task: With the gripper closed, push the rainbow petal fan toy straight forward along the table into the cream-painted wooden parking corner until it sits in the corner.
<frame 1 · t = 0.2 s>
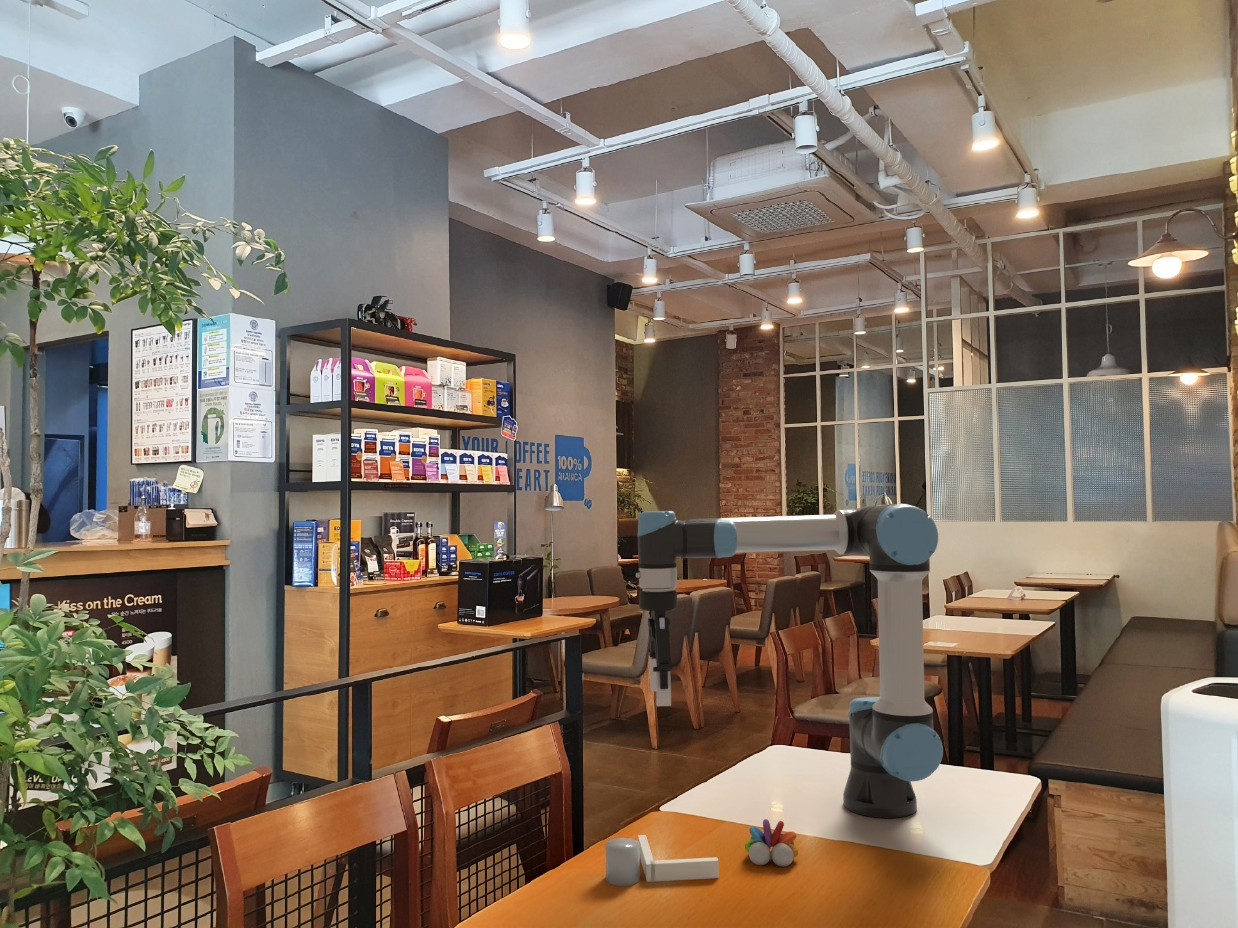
hand: (660, 698, 180), 28 cm above the table, fingers open, 13 cm apart
parking corner: (680, 863, 167), on the table
rainbow petal fan toy: (771, 860, 169), on the table
short grey cylinder: (622, 878, 161), on the table
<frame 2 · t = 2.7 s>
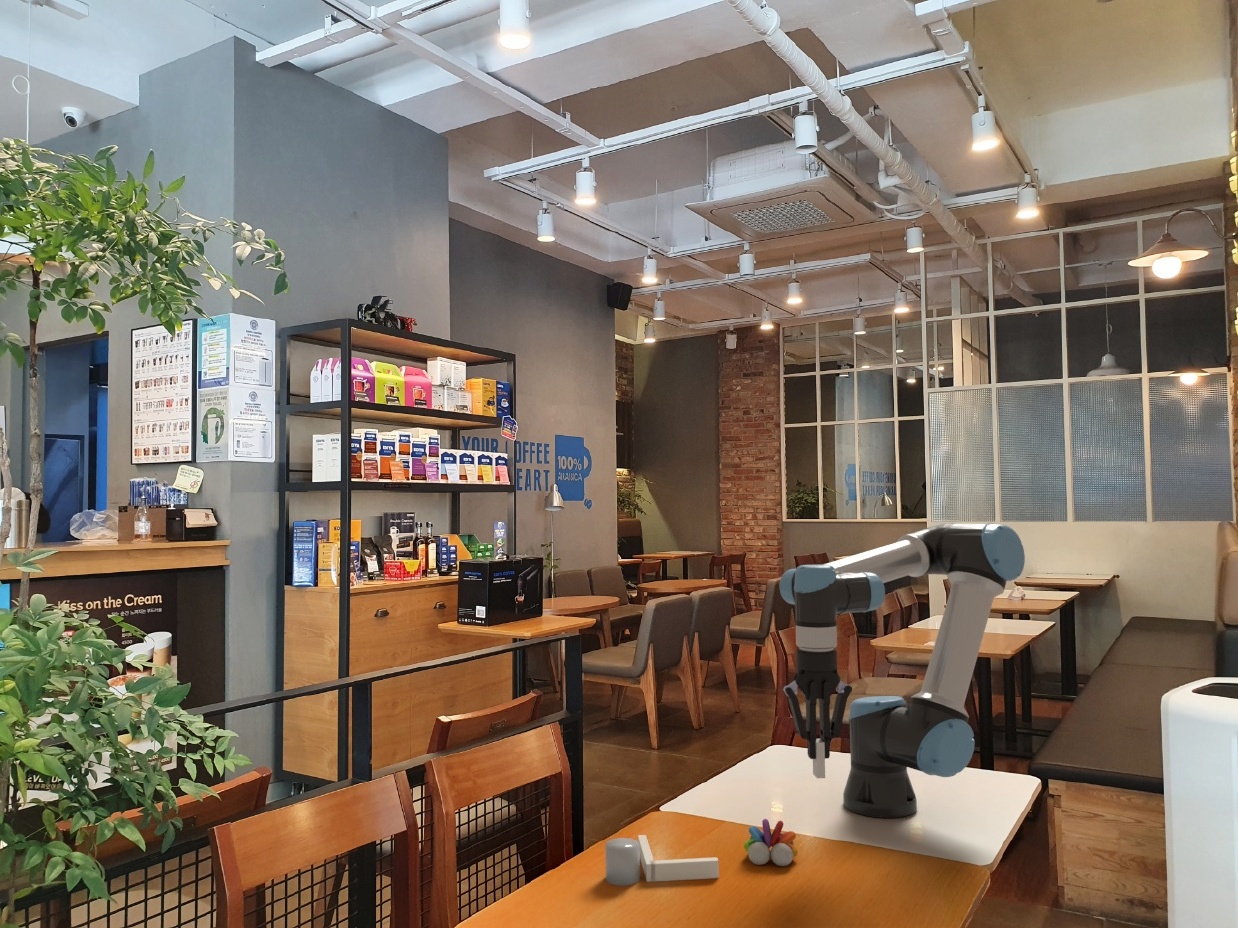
hand: (819, 775, 170), 15 cm above the table, fingers closed
nothing on the table moved.
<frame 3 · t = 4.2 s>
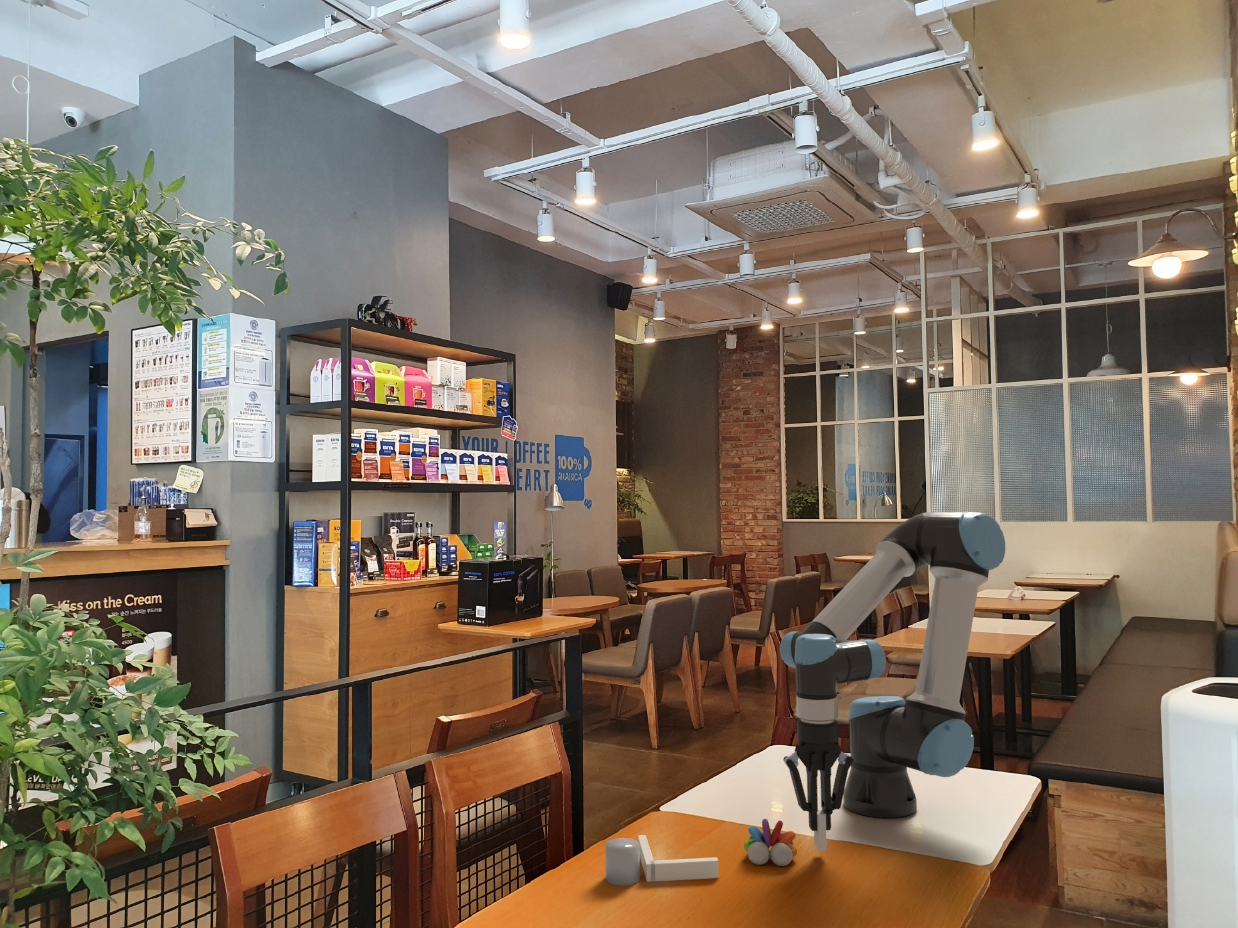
hand: (820, 847, 169), 2 cm above the table, fingers closed
nothing on the table moved.
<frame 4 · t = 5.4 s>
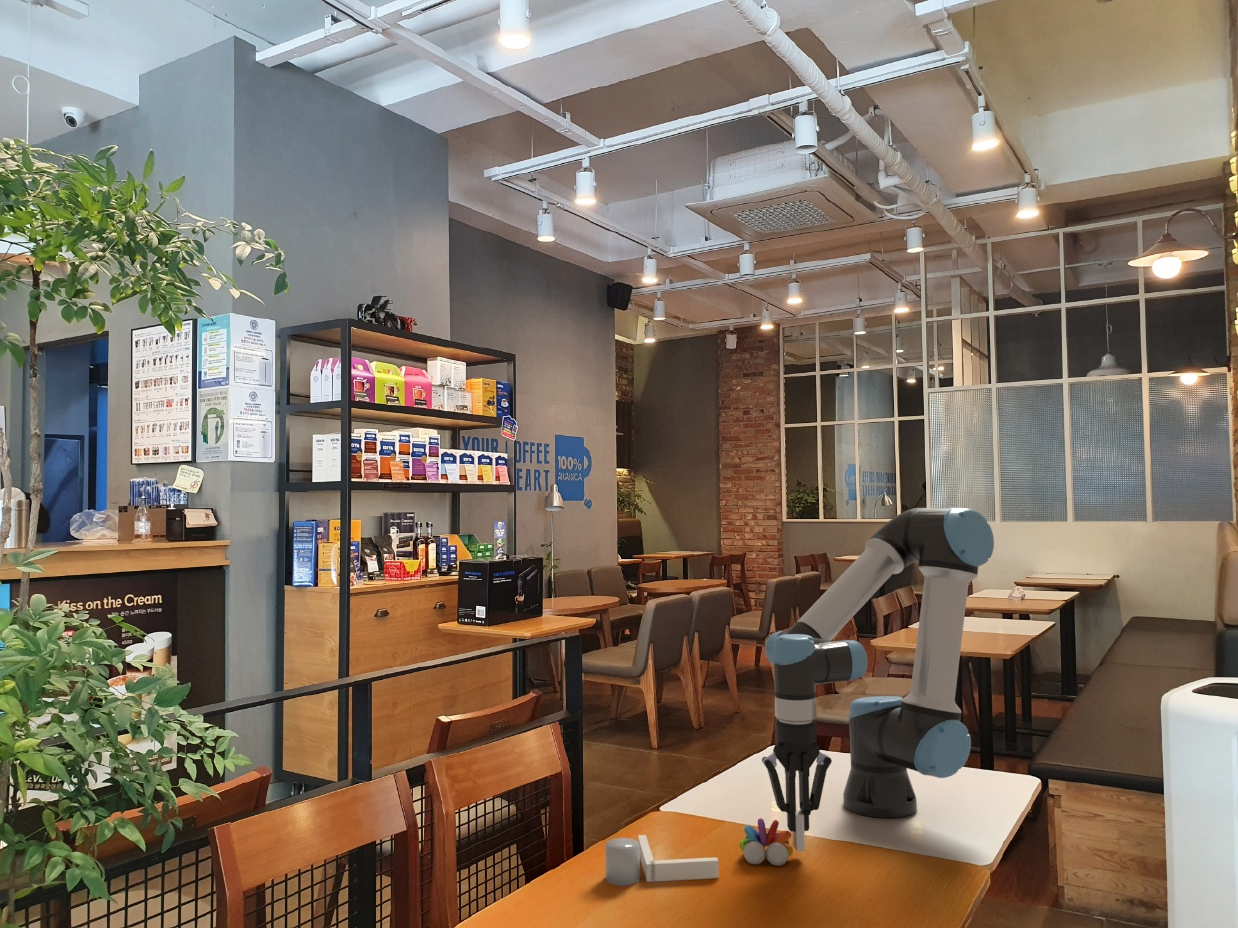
hand: (798, 848, 169), 2 cm above the table, fingers closed
rainbow petal fan toy: (766, 860, 169), on the table, touching gripper
everything else where it was.
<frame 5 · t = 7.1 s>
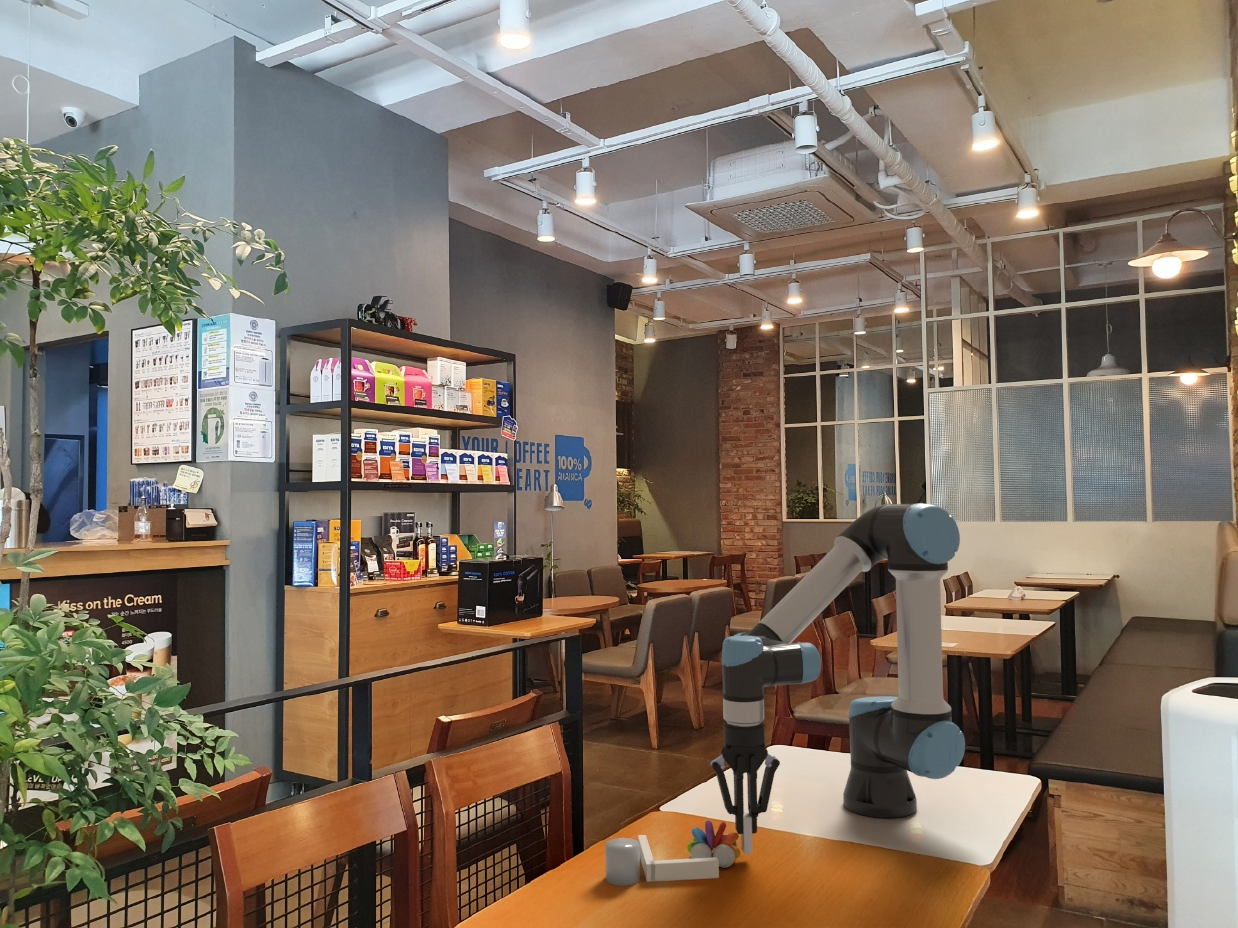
hand: (746, 850, 168), 2 cm above the table, fingers closed
rainbow petal fan toy: (713, 862, 168), on the table, touching gripper
everything else where it was.
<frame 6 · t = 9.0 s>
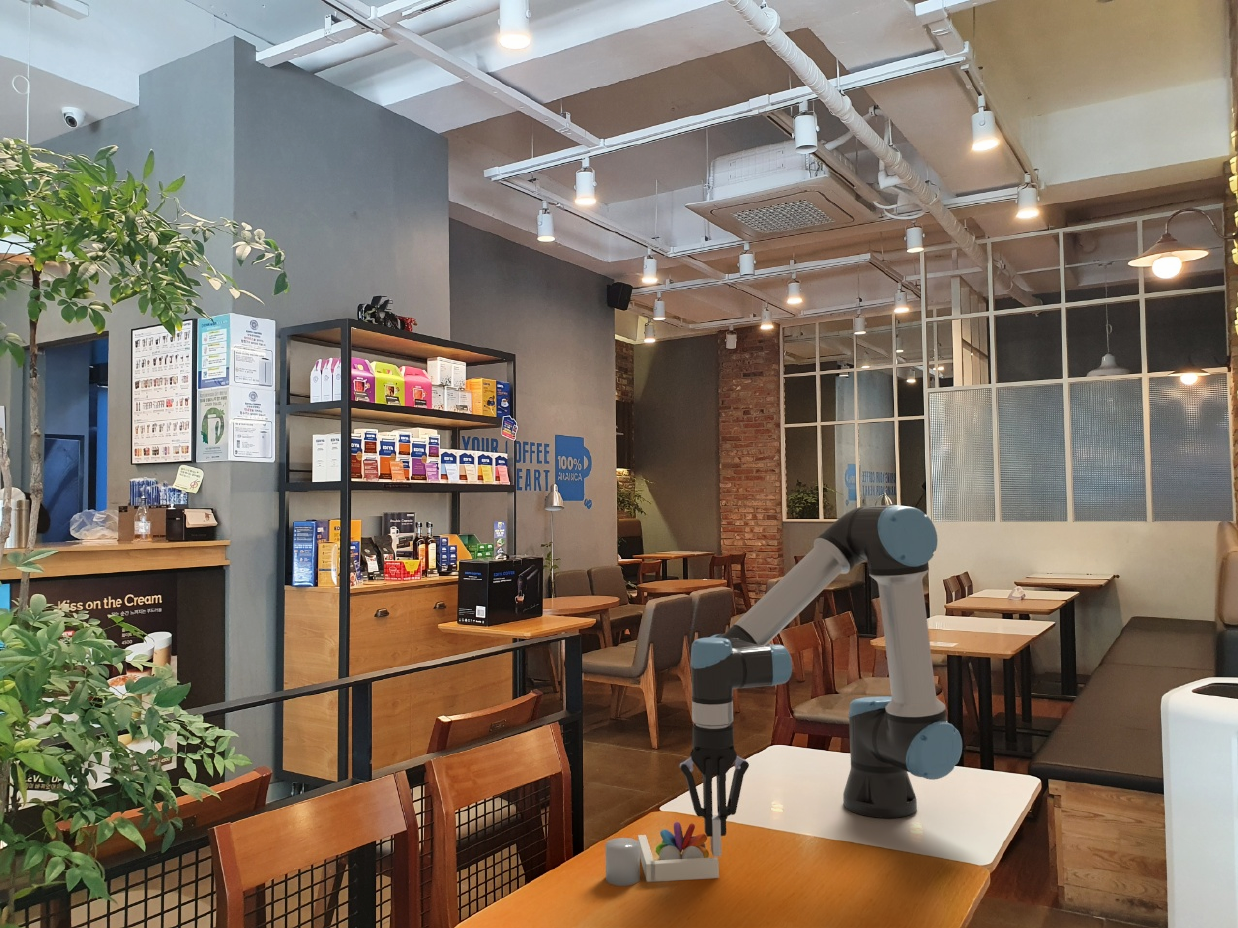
hand: (716, 853, 168), 2 cm above the table, fingers closed
rainbow petal fan toy: (682, 863, 168), on the table, touching gripper
everything else where it was.
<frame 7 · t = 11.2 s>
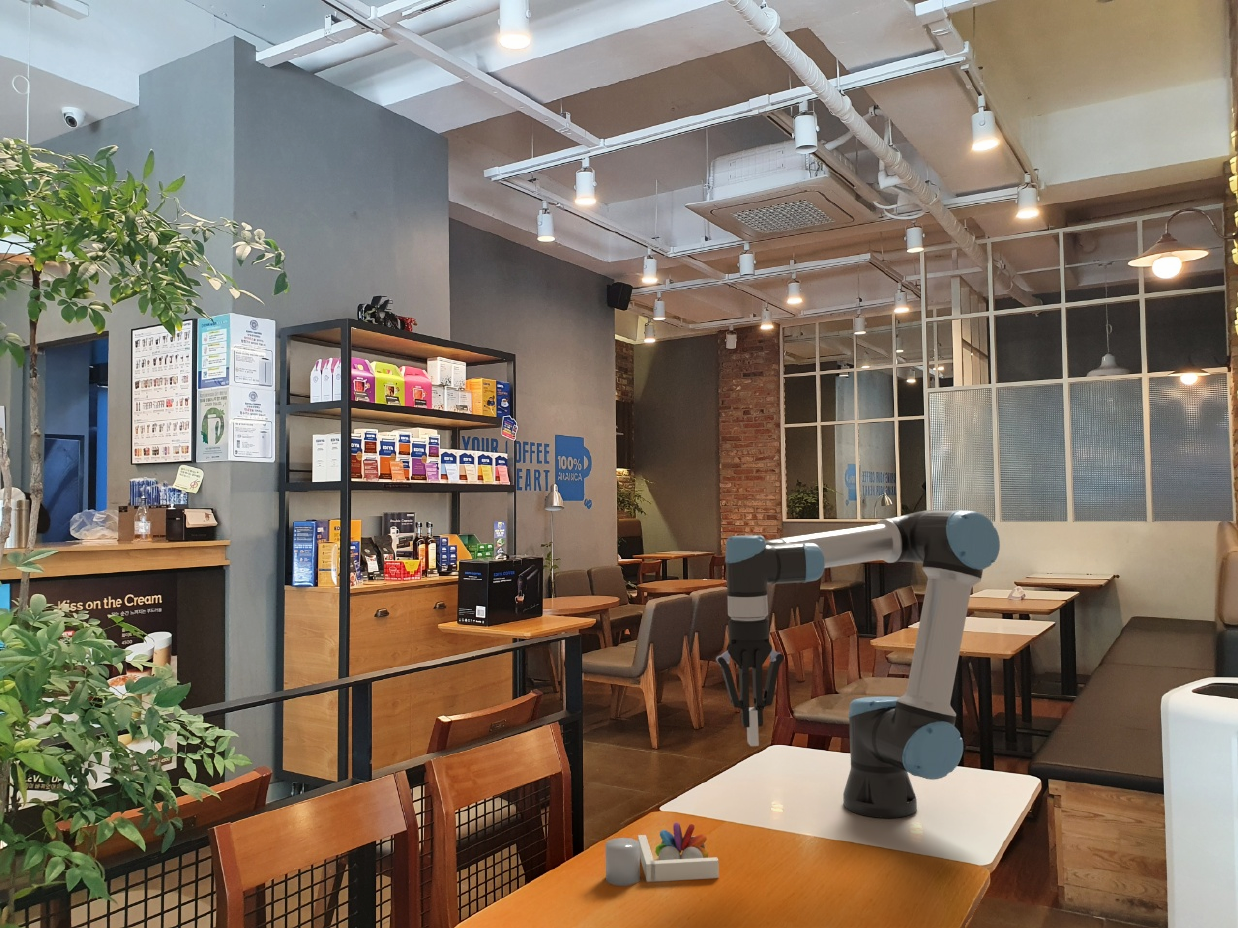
hand: (753, 743, 172), 20 cm above the table, fingers closed
rainbow petal fan toy: (682, 864, 168), on the table
everything else where it was.
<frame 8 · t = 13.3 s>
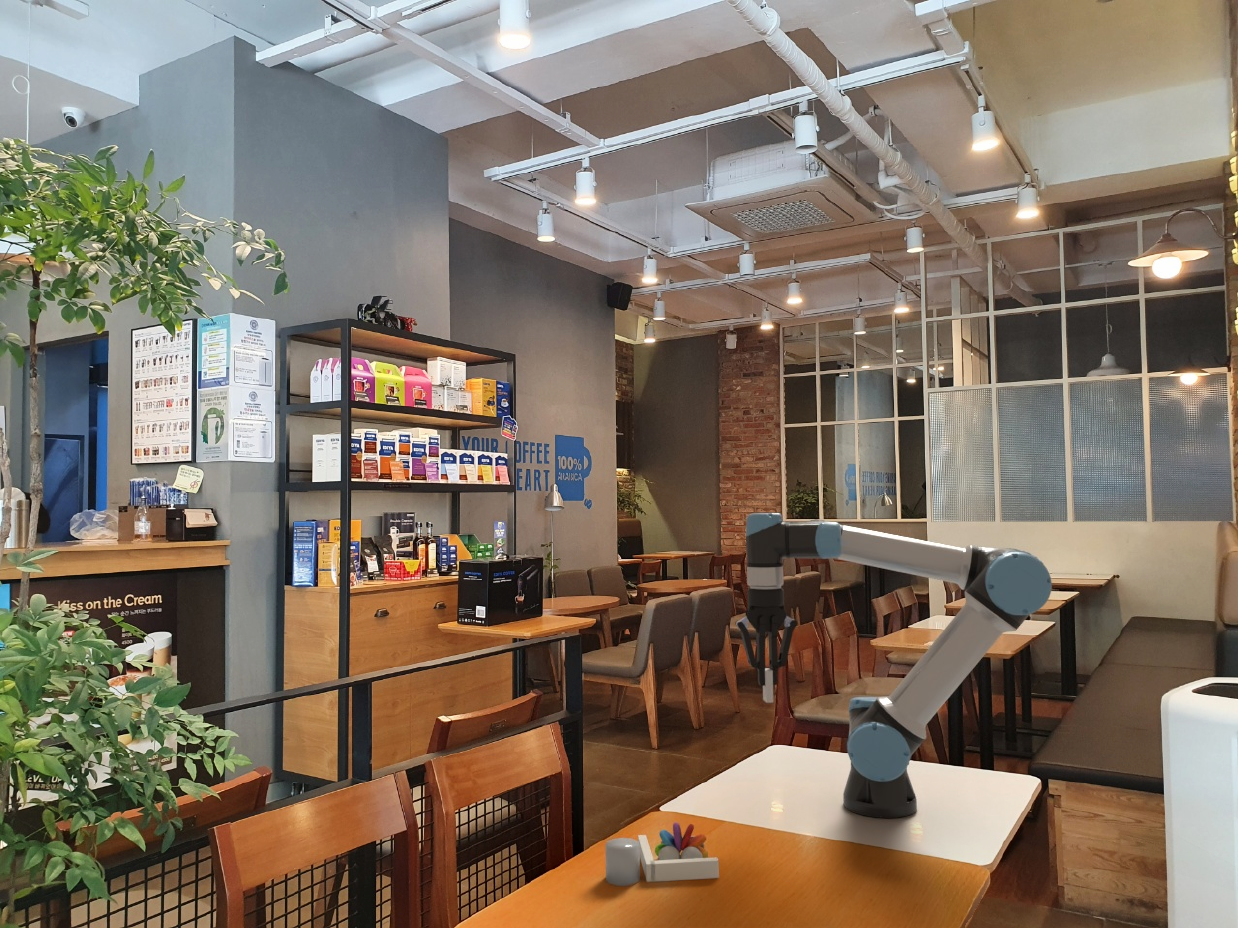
hand: (768, 700, 190), 24 cm above the table, fingers closed
nothing on the table moved.
at the end: rainbow petal fan toy inside the target area (0.9 cm from its centre), on the table; rainbow petal fan toy moved 16.7 cm from its start; rainbow petal fan toy tilted 0° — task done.
